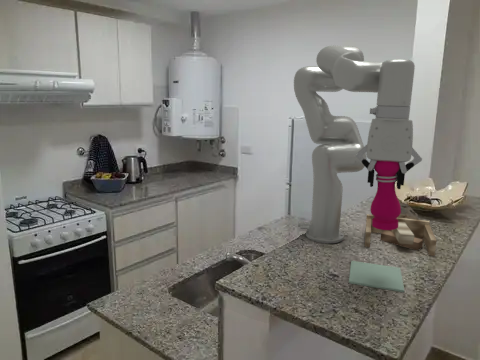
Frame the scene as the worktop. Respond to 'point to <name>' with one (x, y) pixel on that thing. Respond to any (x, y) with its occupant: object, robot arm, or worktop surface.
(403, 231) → the birch offcut
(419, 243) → the walnut offcut
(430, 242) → the oak rack
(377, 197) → the pepper mill
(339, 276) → the worktop surface
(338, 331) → the worktop surface
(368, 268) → the green mat
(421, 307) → the worktop surface
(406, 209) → the clay tablet
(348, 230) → the worktop surface
